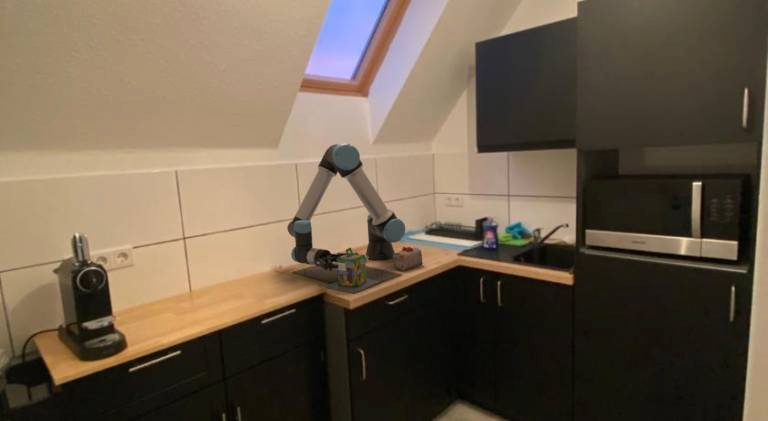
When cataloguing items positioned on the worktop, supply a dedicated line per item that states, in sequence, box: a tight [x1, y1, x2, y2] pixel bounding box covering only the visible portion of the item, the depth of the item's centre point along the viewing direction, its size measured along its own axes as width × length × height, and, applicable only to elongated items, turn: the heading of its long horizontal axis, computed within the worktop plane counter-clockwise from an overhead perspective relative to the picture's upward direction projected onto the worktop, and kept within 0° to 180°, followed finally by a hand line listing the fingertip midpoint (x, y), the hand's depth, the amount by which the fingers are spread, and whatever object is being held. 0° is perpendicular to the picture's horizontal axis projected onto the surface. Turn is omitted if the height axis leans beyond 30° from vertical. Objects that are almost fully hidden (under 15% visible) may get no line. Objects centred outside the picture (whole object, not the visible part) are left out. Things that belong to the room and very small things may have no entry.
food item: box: [391, 246, 423, 272], centre depth 198 cm, size 14×8×10 cm, turn 132°
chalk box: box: [336, 247, 367, 287], centre depth 174 cm, size 9×9×15 cm
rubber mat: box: [324, 278, 381, 295], centre depth 175 cm, size 16×16×1 cm
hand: (356, 263), depth 172 cm, fingers open, 13 cm apart
